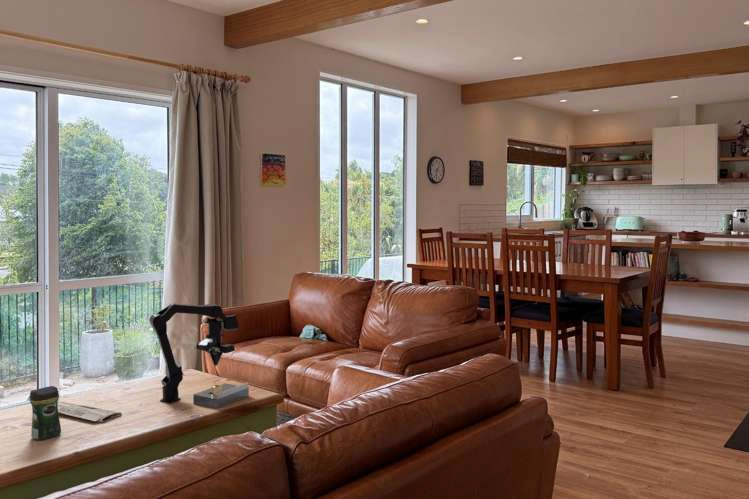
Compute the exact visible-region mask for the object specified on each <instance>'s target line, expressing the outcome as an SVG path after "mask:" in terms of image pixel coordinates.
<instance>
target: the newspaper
mask: <svg viewBox="0 0 749 499" xmlns="http://www.w3.org/2000/svg"><path fill="white" fill-rule="evenodd" d="M58 414H59V415H64V416H68V417H74V418H79V419H83V420H89V421H92V422H97V423H104V422H105V420H103V419H105V418H106V419H107V418H108V419H114V418H116V417H120V416H122V415H123V414H122V412H121V411H115V410H109V409H103V408H99V407H92V406H87V405H82V404H77V403H71V402H66V401H61V400H60V401H59V400H58Z"/></svg>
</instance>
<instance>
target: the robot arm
mask: <svg viewBox="0 0 749 499" xmlns="http://www.w3.org/2000/svg"><path fill="white" fill-rule="evenodd" d="M175 314H188V315H189V314H191V315H202V316H206V318H204V320H203V323H205V324H208V327H207V328H208V334H206V335H205V339H203V340H202V341H199V342H197V343H196V344H195V345H196V347H195V349H196V350H200V351H201V352H203V351H204V352H205V353H207V354H208V355H209V356H210V358H211V361H212V363H213V366H216V367H217V366H218V364H219V362H220V359H221V357H222V355H223V354H229V353H232V352H234V351H235V348H236V347H235V345H233V344H231V343H227V344H224V342H223V341H222V337H223V336H224V333H223V332H222V330H224V331H225V332H227V331H235V330H238V329H239V322H238V317H237V315H236V314H232V315H225V314H224V312H223V309H222V307H221V306H220V305H217V304H216V303H208V304H202V305H195V304H184V303H183V304H182V303H175V302H172V303H169V304H168V305H166V306H165V307H164V308H163V309H161V310H159V311H158V312H157V313H153V314H151V315H150V317H149V323H150V326H151V327H152V329H153V331H154V332H155V334H156V337H157V339H158V343H159V346H160V349H161V353H162V357H163V359H164V364H165V376H164V377H163V379H162V380H160V381H161V382H160V383H161V384H162V398H161V399H159V401H160V402H163V403H167V404H168V403H169V404H172V403H174V402H177V401H180V400H181V397H179V385H180V383H182V381H183V379H184V374H185V373H184V372H183V369H182V368H183V366H181V365H180V363H176V359H175V357H174V353H173V350H172V347H171V342H170V340H169V337H168V333H167V331H168V324H167V322H169V321H170V320H171V319H172V318H173V317H174V315H175Z"/></svg>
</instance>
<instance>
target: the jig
mask: <svg viewBox="0 0 749 499" xmlns="http://www.w3.org/2000/svg"><path fill="white" fill-rule="evenodd" d="M221 385H222V392H219V393H216V394H215V395H213V394H212V389H211V388H207V389H205V390H202V391H199V392H196V393H193V394H192V396H193V397H192V398H193V401H192V402H193V404H194V405H199V406H204V407H208V408H212V409H219V408H222V407H225V406H227V405H229V404H230V405H231V404H233V403H235V402H238V401H240V400H242V399H245V398H248V397H250V392H249V391H250V388H249V386H250V384H249V382H245V383H244V382H243V383H241V384H238V385H237V384H232V383H227V382H225V383H222V384H221Z"/></svg>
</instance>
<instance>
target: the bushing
mask: <svg viewBox="0 0 749 499" xmlns="http://www.w3.org/2000/svg"><path fill="white" fill-rule="evenodd" d="M211 389H212V394H213V395H215V394H216V393H219V392H222V384H213V385H211Z"/></svg>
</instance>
